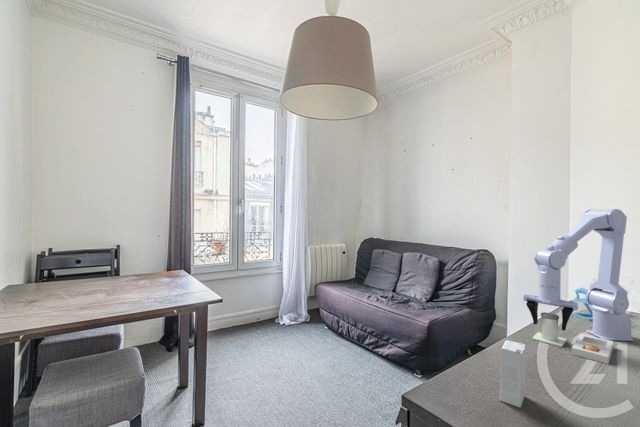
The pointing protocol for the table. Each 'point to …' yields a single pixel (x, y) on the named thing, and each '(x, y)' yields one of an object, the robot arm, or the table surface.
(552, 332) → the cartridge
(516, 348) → the skincare box
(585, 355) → the housing
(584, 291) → the chair
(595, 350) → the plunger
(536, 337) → the mat
